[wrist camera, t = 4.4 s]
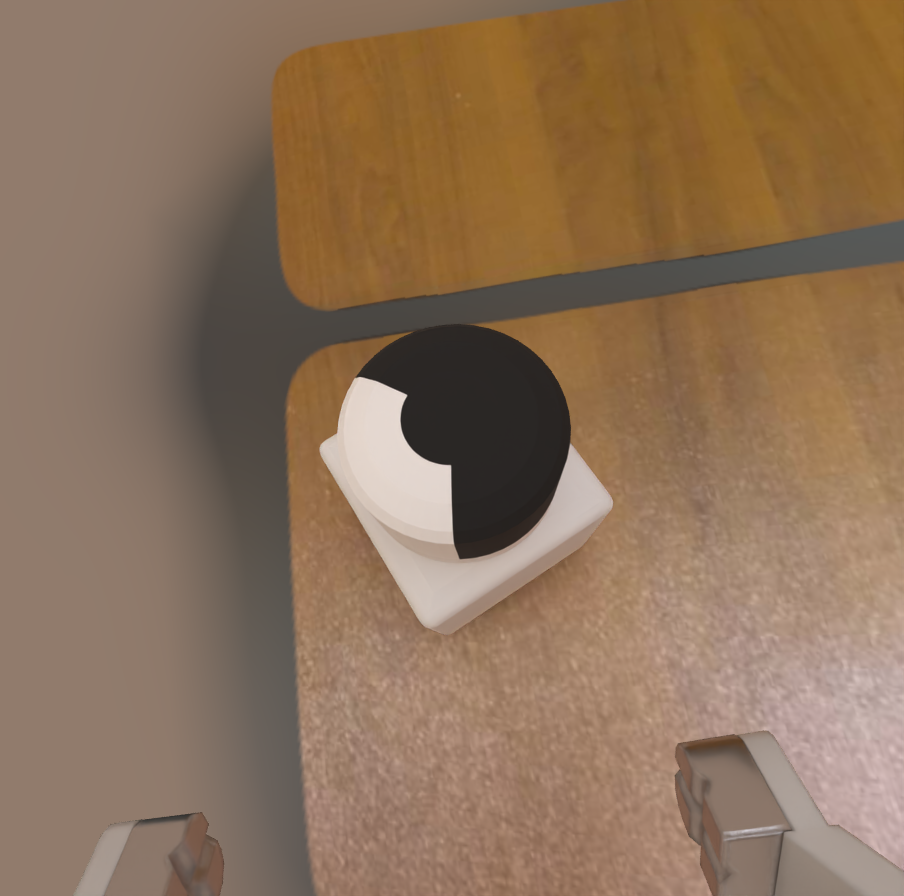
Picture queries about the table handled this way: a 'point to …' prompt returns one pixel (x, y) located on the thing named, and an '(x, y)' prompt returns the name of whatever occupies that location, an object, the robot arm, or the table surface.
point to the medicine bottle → (463, 469)
